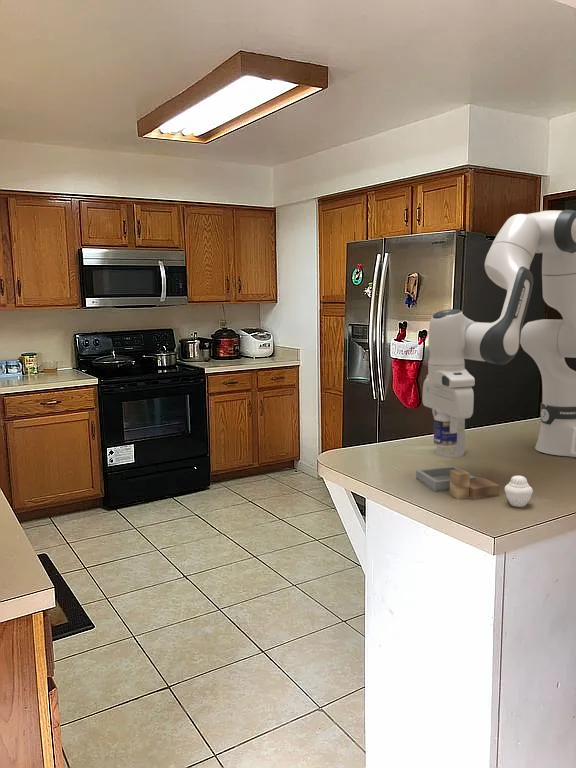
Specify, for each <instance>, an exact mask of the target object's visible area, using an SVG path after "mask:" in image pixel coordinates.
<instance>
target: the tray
mask: <svg viewBox="0 0 576 768" xmlns="http://www.w3.org/2000/svg"><path fill="white" fill-rule="evenodd" d="M455 469H460V468H458V467H457V466H455V465H451V466H443V467H441V466H440V467H433V468H422V469H421V468H420V469H416V470H415V479H416V481H418V482H419V483H421V484H422V485H425V486H426V487H428V488H429V489H431V490H432V491H433V492H435V493H437V492H439V493H440V492H446V491H450V470H455ZM474 478H477V477H476V476H474V475H472V474H470V479H474Z"/></svg>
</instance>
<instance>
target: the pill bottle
mask: <svg viewBox="0 0 576 768" xmlns="http://www.w3.org/2000/svg"><path fill="white" fill-rule="evenodd" d="M436 412H437V415H436V416H435V418H434V417H433V445H434V446H435V447H436V446H437V447H441V448H452V447H455V446H456V445H457V433H450V432H448V425H450V422H451V420H450V415H447V414H445V413H443V412H442V408H439V407H436Z"/></svg>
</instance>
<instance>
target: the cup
mask: <svg viewBox="0 0 576 768" xmlns="http://www.w3.org/2000/svg"><path fill="white" fill-rule="evenodd" d="M465 423H466V419H460V421H459V424H458V426H457V445H456V446H455V447H452V448H441V447H437V446H435V447H436V449H435V450H436V452H435V453H436V455H437V456H439V457H443V458H460V457H463V456H465V444H466V443H465V437H466V436H465V435H466V431H465V427H466V424H465Z"/></svg>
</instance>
